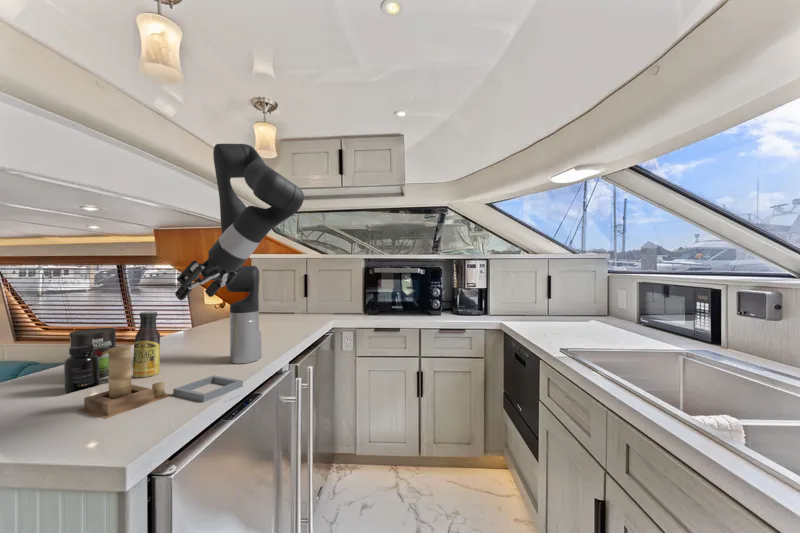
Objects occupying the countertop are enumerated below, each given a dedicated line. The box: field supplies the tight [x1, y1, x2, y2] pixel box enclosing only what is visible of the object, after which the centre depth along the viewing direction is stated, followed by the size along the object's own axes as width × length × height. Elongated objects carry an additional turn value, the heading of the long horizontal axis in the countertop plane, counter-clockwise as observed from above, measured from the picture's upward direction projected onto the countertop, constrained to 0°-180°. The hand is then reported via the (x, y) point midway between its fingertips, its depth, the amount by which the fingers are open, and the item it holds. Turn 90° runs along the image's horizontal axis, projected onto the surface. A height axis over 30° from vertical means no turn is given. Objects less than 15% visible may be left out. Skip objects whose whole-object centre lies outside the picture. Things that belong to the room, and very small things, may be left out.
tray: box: [172, 375, 244, 403], centre depth 86 cm, size 11×11×3 cm
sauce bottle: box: [132, 310, 161, 379], centre depth 99 cm, size 6×6×20 cm
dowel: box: [108, 345, 132, 399], centre depth 77 cm, size 4×4×13 cm
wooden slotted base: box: [77, 381, 173, 420], centre depth 79 cm, size 14×11×4 cm
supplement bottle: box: [63, 344, 100, 395], centre depth 90 cm, size 7×7×12 cm
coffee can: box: [69, 327, 117, 382], centre depth 101 cm, size 10×10×14 cm
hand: (194, 295), depth 80 cm, fingers open, 8 cm apart
